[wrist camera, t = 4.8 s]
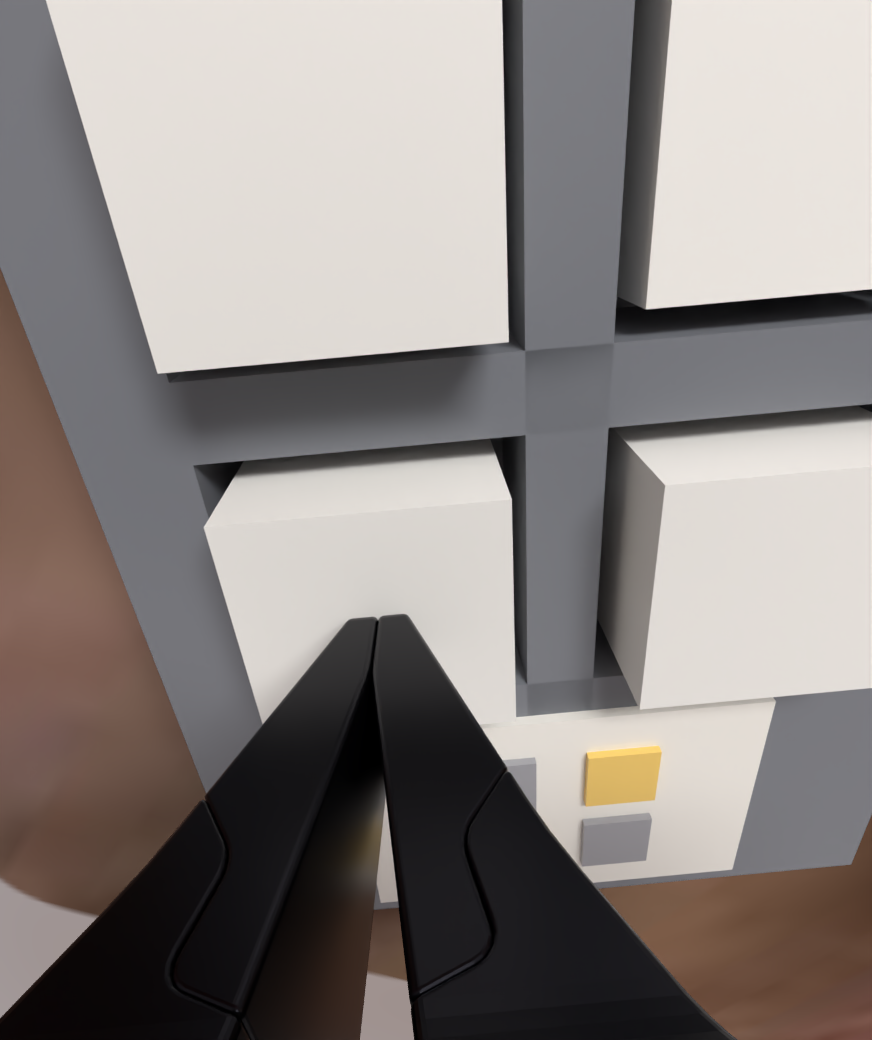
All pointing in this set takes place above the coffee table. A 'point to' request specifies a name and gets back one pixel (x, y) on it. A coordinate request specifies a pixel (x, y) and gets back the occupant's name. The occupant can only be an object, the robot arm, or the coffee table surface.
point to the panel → (450, 418)
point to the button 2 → (372, 562)
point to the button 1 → (298, 171)
